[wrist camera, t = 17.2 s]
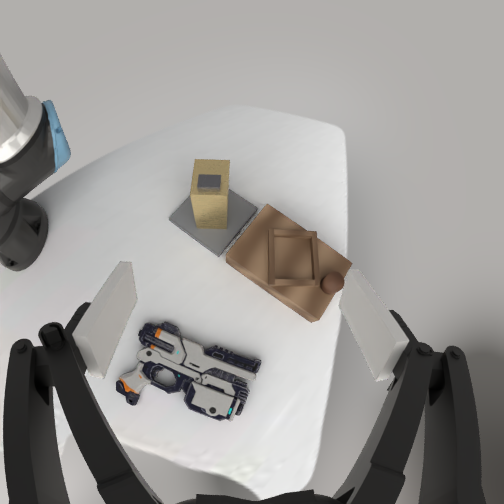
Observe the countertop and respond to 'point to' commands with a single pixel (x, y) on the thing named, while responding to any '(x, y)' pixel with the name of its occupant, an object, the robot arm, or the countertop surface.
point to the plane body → (289, 263)
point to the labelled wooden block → (210, 193)
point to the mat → (215, 238)
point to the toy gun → (190, 372)
